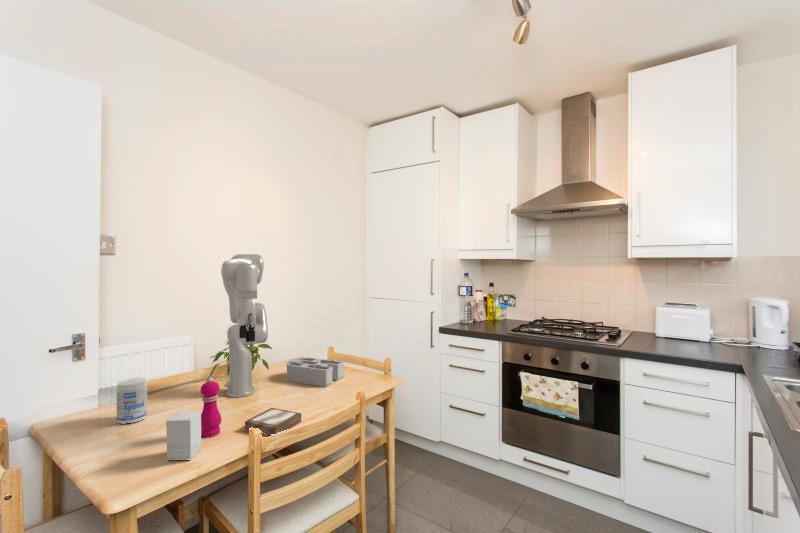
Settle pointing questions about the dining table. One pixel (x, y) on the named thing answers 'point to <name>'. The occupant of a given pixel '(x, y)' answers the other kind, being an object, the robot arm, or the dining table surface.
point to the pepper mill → (210, 409)
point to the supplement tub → (131, 400)
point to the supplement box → (183, 435)
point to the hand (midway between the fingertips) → (247, 339)
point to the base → (274, 421)
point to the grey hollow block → (314, 371)
